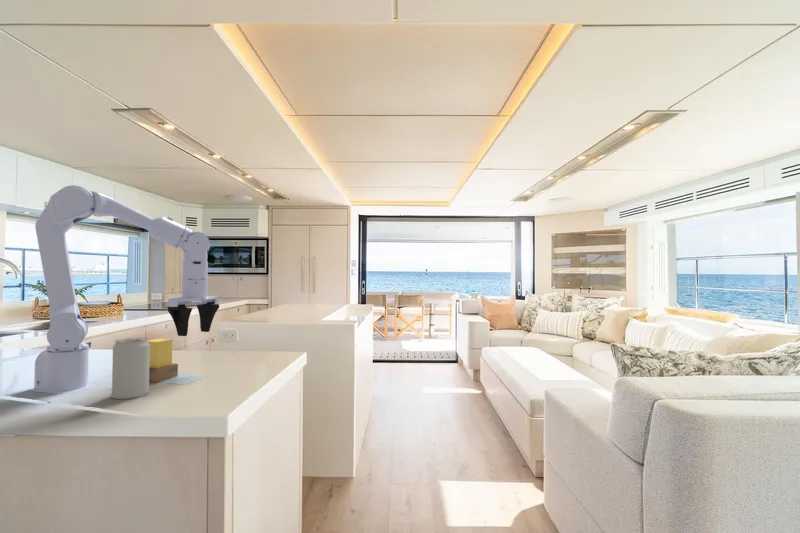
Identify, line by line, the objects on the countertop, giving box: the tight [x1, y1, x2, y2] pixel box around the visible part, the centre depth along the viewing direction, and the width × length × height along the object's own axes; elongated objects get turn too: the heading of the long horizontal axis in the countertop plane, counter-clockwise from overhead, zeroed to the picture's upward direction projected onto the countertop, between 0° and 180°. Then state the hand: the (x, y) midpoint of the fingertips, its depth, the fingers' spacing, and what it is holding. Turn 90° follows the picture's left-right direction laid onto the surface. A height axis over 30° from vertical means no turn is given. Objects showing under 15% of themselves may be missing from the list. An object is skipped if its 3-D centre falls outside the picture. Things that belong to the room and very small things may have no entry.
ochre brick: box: [147, 338, 173, 368], centre depth 98 cm, size 4×4×6 cm
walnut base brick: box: [149, 362, 179, 383], centre depth 98 cm, size 6×6×3 cm
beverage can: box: [111, 337, 150, 400], centre depth 85 cm, size 6×6×12 cm
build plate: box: [159, 372, 209, 385], centre depth 98 cm, size 12×8×1 cm, turn 74°
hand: (194, 333), depth 104 cm, fingers open, 7 cm apart
